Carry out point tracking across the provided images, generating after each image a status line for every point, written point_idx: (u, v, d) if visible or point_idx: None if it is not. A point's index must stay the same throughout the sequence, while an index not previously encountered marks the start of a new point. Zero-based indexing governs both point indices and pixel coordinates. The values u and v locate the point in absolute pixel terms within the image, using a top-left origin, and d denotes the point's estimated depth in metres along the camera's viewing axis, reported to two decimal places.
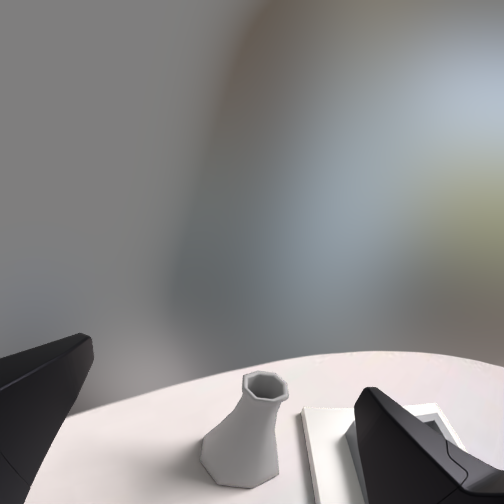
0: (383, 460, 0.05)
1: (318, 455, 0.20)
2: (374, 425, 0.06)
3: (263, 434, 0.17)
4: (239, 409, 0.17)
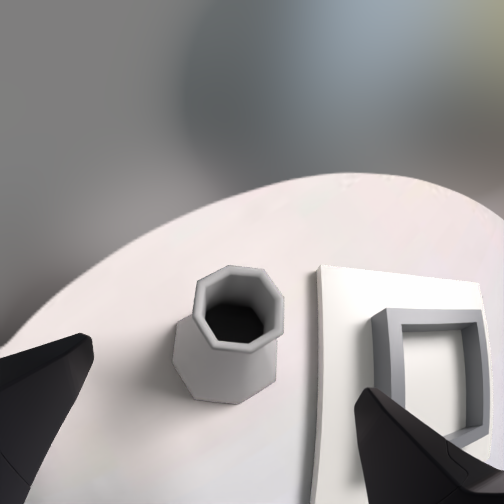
0: (383, 460, 0.05)
1: (331, 354, 0.17)
2: (374, 425, 0.06)
3: (245, 363, 0.12)
4: None
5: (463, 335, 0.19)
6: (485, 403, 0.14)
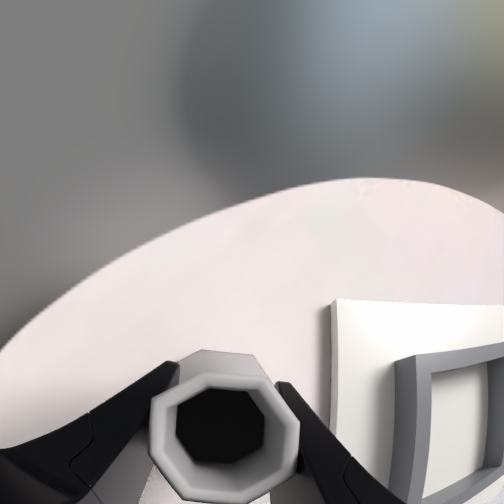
0: None
1: (346, 411, 0.13)
2: None
3: (239, 461, 0.07)
4: None
5: (489, 369, 0.14)
6: None
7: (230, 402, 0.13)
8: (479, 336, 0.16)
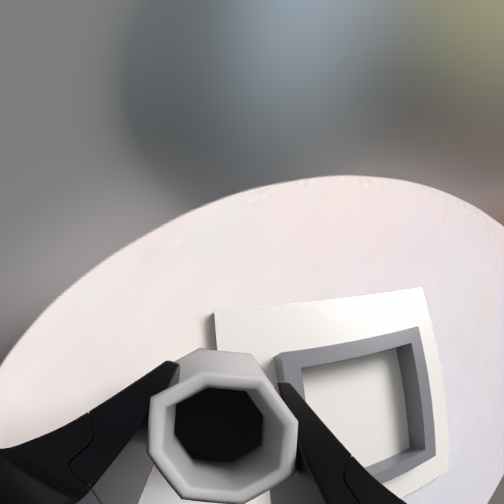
0: None
1: None
2: None
3: (237, 460, 0.07)
4: None
5: (399, 354, 0.20)
6: (427, 427, 0.15)
7: (229, 401, 0.13)
8: (383, 323, 0.21)
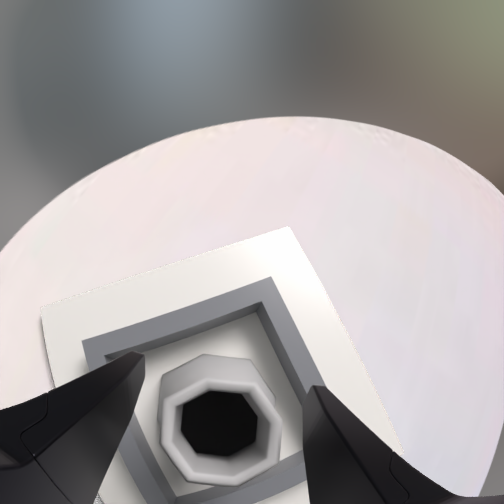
0: (325, 466, 0.05)
1: None
2: (316, 426, 0.06)
3: (235, 454, 0.08)
4: None
5: (260, 319, 0.17)
6: None
7: (229, 402, 0.15)
8: (230, 284, 0.18)
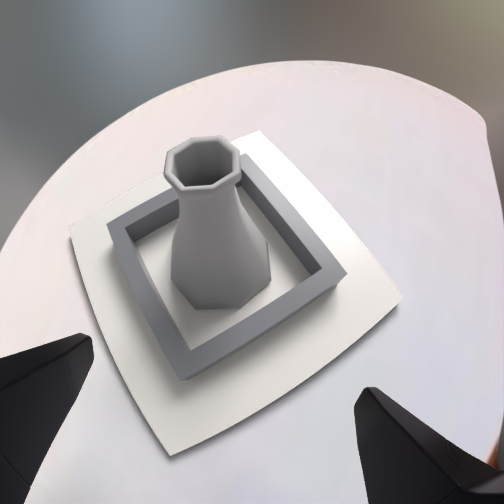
0: (383, 460, 0.05)
1: (92, 288, 0.18)
2: (374, 425, 0.06)
3: (226, 236, 0.13)
4: (179, 205, 0.12)
5: (245, 189, 0.22)
6: (307, 241, 0.18)
7: None
8: None
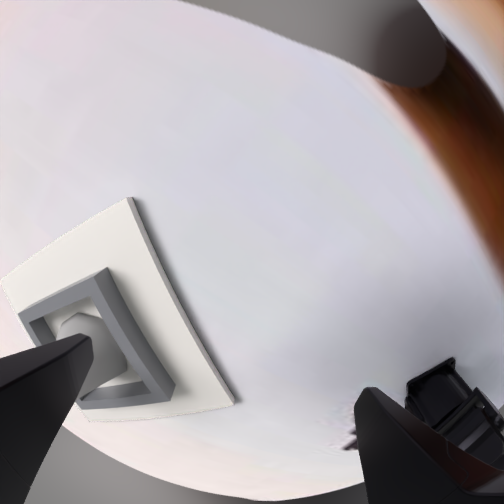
0: (383, 460, 0.05)
1: (124, 417, 0.24)
2: (374, 425, 0.06)
3: None
4: None
5: None
6: (71, 298, 0.18)
7: None
8: None
